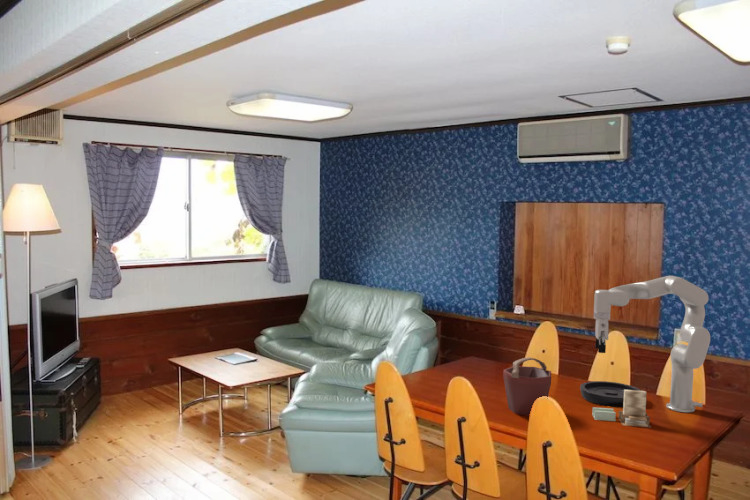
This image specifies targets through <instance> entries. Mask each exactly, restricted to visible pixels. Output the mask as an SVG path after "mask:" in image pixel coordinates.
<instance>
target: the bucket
mask: <svg viewBox="0 0 750 500" xmlns="http://www.w3.org/2000/svg"><path fill="white" fill-rule="evenodd" d="M528 361H534V362H536V363H538V364H539V366H540V367H541V368H539V367H536V366H521V365H520V364H523V363H524V362H525V363H526V362H528ZM502 373H503V374H502V376H503V382H504V389H505V394H506V400H507V401H506V402H507V406H508V407H507V408H508V409H509V410H510V411H512V413H513V414H516V415H521V416H527V417H530V416H529V414H530V411H531V408H532V405H533V403H534V401H535V400H536V399H537V398H539V397H542V396H547V397H549V394H550V389H551V387H552V386H551V385H552V370H548V367H547V365H546V363H545V362H544V361H541V360H540V359H537V358H534V357H523V358H520V359H517V360H514V361H513V362H512V366H510V367H508V368H505V369H503V372H502Z"/></svg>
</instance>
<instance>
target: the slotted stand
mask: <svg viewBox="0 0 750 500" xmlns="http://www.w3.org/2000/svg"><path fill="white" fill-rule="evenodd" d="M616 414H617V412H616V411H615V410H614V408H610V407H608V408H607V407H606V408H605V407H595V406H594V407H593V406H592V414H591V415H592V417H593V419H594V420H596V421H606V422H607V421H608V422H616V416H617V415H616Z"/></svg>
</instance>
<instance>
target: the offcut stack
mask: <svg viewBox="0 0 750 500" xmlns="http://www.w3.org/2000/svg"><path fill="white" fill-rule="evenodd" d="M646 421H647V419H646V417H638V416H629V418H625V424H626V425H631V426H630V427H638V426H645V427H644V428H649V427H648V424H647V422H646Z"/></svg>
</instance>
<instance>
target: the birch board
mask: <svg viewBox="0 0 750 500" xmlns="http://www.w3.org/2000/svg"><path fill="white" fill-rule="evenodd" d="M647 394H648V393H647V391H646V390H641V391H639V390H624V402H623V408H622V411H623V414H627V415H641V416H645V413H647V412H646V409H647Z"/></svg>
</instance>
